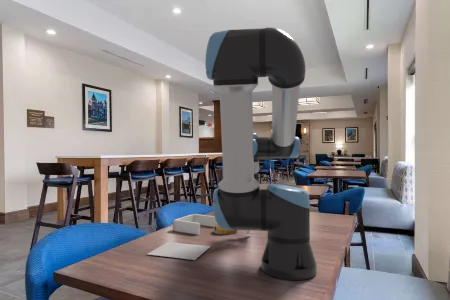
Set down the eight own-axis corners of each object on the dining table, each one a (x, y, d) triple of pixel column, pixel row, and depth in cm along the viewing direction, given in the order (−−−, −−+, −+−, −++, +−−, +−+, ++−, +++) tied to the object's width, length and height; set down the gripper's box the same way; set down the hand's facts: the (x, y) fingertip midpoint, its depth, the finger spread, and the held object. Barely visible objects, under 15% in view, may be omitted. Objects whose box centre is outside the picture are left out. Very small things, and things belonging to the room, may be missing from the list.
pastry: (234, 230, 125) (234, 221, 125) (238, 234, 119) (238, 225, 119) (213, 231, 123) (213, 222, 123) (216, 236, 116) (216, 226, 116)
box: (198, 234, 117) (198, 223, 117) (173, 230, 124) (173, 220, 124) (217, 226, 130) (217, 216, 130) (193, 223, 137) (193, 213, 137)
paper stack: (179, 236, 116) (179, 235, 116) (241, 242, 108) (241, 240, 108) (146, 256, 93) (146, 254, 93) (220, 265, 86) (220, 262, 86)
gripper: (268, 172, 115) (268, 232, 115) (238, 171, 122) (238, 228, 121) (261, 173, 109) (261, 237, 108) (230, 172, 115) (230, 233, 115)
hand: (249, 232), depth 115 cm, fingers closed
